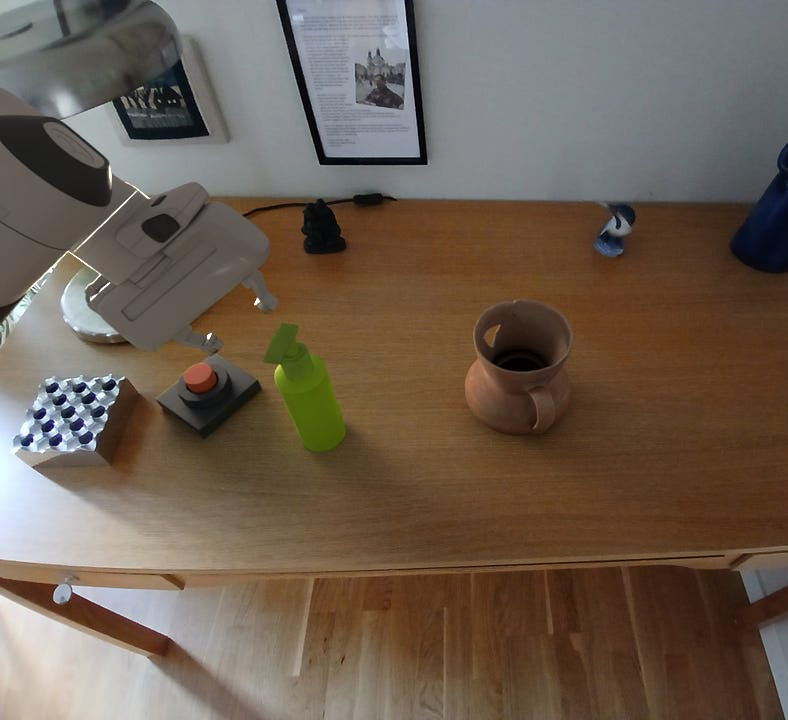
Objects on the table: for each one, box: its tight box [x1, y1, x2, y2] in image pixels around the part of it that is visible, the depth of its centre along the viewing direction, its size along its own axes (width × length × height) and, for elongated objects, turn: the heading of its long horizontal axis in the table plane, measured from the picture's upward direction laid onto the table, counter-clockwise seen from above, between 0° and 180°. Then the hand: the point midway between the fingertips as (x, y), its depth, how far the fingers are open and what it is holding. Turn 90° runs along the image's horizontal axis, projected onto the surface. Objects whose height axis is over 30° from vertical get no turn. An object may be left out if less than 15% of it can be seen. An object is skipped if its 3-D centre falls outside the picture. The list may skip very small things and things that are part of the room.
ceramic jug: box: [464, 298, 574, 437], centre depth 72 cm, size 18×14×14 cm
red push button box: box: [154, 353, 263, 440], centre depth 76 cm, size 10×9×4 cm
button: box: [183, 362, 217, 394], centre depth 74 cm, size 4×4×2 cm
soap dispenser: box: [262, 322, 347, 453], centre depth 66 cm, size 6×7×20 cm
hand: (245, 329), depth 64 cm, fingers open, 8 cm apart
